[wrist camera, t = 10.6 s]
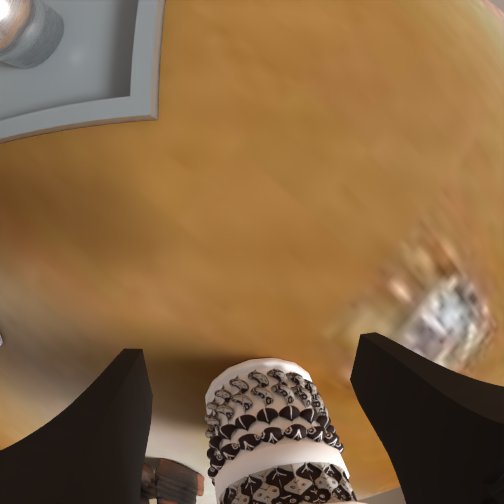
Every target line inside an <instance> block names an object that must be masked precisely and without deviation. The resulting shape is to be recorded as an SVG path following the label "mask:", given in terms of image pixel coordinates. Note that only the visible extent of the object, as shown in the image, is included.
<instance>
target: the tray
mask: <svg viewBox="0 0 504 504" xmlns="http://www.w3.org/2000/svg"><path fill="white" fill-rule="evenodd" d="M43 1H44V2H45V3H46V4H48V5H49V6H50V7H51V8H52V9H54V10H55V11H56V12H57V13H58V14H60V15H61V17H62V18H63V21H64V33H63V36H62V39H61V42H60V43H59V45H58V47H57V49H56V50H55V51H54V53H53V54H52V55H51V56H50V57H49V58H48V59H47V60H46V61H44V62H43V63H42V64H40V65H38V66H36V67H34V68H30V69H22V68H19V67H16V66H13V65H10V64H8V63H5V62H2V61H0V143H5V142H9V141H13V140H17V139H22V138H26V137H31V136H36V135H41V134H46V133H52V132H58V131H63V130H70V129H76V128H83V127H90V126H98V125H106V124H115V123H124V122H135V121H148V120H158V102H159V76H160V58H161V43H162V31H163V20H164V10H165V1H166V0H43Z"/></svg>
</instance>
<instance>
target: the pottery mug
mask: <svg viewBox="0 0 504 504" xmlns="http://www.w3.org/2000/svg"><path fill="white" fill-rule="evenodd" d="M203 492H204V477H203V476H202V475H200V474H198V473H196V472H194V471H192V470H190V469H189V468H186V467H184V466H182V465H179V464H177V463H174V462H172V461H169V460H166V459H163V458H162V459H160V461H159V465H158V467H157V469H156V471H155V473H153V471H152V470H151V468H150V467H149V466H148V465H147V464H145V463H144V465H143V471H142V478H141V490H140V504H149V499H154V498H156V499H157V504H195V503H196V495H198V496H202V495H203Z"/></svg>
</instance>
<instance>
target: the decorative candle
mask: <svg viewBox="0 0 504 504" xmlns="http://www.w3.org/2000/svg"><path fill="white" fill-rule="evenodd" d="M205 402H206V410H207V414H208V415H206V416H205V421H207V424H208V425H210V426H212V427H209V428H208V430H207V431H206V432H205V436H206V437H207V438H210V441H209V447H210V449H208V451H207V457H208V458H209V459H210V465H211V467H210V468H209V469H208V476H209V477H210V478H211V479H212V483H213V485H214V486H215V491H216V499H217V504H367V503H361V502H358V501H357V499H356V497H355V494H354V492H353V490H352V487H351V485H350V483H349V481H348V478H349V474H348V471H347V469H346V466H345V464H344V462H343V459H342V457H341V453H342V452H343V449H344V447H343V445H342V443H340V442H338V441H339V436H338V435H337V434H335V432H336V430H335V428H334V427H333V426H332V425H330V423H331V419H330V418H329V417H328V411H327V409H326V407H325V406H324V405H323V401H322V399H321V396H320V394H319V393H318V392H317V391H316V386H315V385H314V383H312V380H311V378H310V375H309V373H308V372H307V371H305V370H304V369H303V368H301V367H300V366H299V365H297V364H296V363H295V362H291V361H286V360H282V359H278V358H262V359H250V360H247V361H245V362H242V363H240V364H237V365H234V366H232V367H229V368H227V369H226V370H225V371H224V372H223V373H221V374H220V375H219V376H218V377H217V378H215V379H214V380H213V381H212V383H211V385H210V387H209V389H208V391H207V393H206V395H205ZM215 435H216V436H215ZM216 451H217V453H216ZM218 470H219V472H218Z"/></svg>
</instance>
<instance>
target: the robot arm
mask: <svg viewBox="0 0 504 504" xmlns="http://www.w3.org/2000/svg"><path fill="white" fill-rule="evenodd" d="M2 344H3V341H2V338H1V335H0V346H1V345H2ZM350 381H351V383H352V386H353V389H354V391H355V394H356V396H357V399H358V401H359V403H360V405H361V407H362V409H363V411H364V412H365V414H366V416H367V418H368V419H369V421H370V423H371V425H372V426H373V428H374V430H375V431H376V433H377V435H378V437H379V438H380V440H381V442H382V444H383V445H384V447H385V449H386V451H387V453H388V455H389V457H390V459H391V462H392V464H393V467H394V469H395V472H396V474H397V477H398V480H399V483H400V485H401V488H402V491H403V494H404V497H405V501H406V504H504V387H503V386H498V385H494V384H490V383H486V382H482V381H479V380H476V379H473V378H470V377H467V376H464V375H462V374H459V373H456V372H454V371H452V370H449V369H447V368H445V367H443V366H441V365H438V364H436V363H434V362H432V361H430V360H428V359H426V358H424V357H422V356H420V355H419V354H417V353H415V352H413V351H411V350H409V349H407V348H406V347H404V346H402V345H400V344H398V343H396V342H395V341H393V340H391V339H389V338H387V337H385V336H383V335H381V334H378V333H376V332H374V333H367V334H360V339H359V343H358V348H357V352H356V357H355V361H354V365H353V370H352V374H351V378H350ZM152 396H153V395H152V391H151V387H150V383H149V378H148V374H147V369H146V365H145V360H144V355H143V350H142V349H123V351H122V352H121V353H120V354H119V355H118V356H117V357H116V358H115V359H114V360H113V361H112V362H111V364H110V365H109V366H108V367H107V368H106V369H105V370H104V371H103V372H102V373H101V375H100V376H99V377H98V378H97V379H96V380H95V381H94V382H93V383H92V384H91V385H90V386H89V387H88V388H87V389H86V390H85V391H84V392H83V393H82V394H81V395H80V396H79V397H78V398H77V399H76V400H75V401H74V402H73V403H72V404H71V405H69V406H68V407H67V408H66V409H65V410H64V411H62V412H61V413H60V414H59V415H57V416H56V417H55V418H53V419H52V420H51V421H50V422H48V423H47V424H45V425H44V426H43V427H41V428H39V429H38V430H36V431H35V432H33V433H32V434H30V435H28V436H27V437H25V438H24V439H22V440H20V441H18V442H17V443H15V444H13V445H11V446H9V447H7V448H5V449H3V450H0V504H140V490H141V478H142V471H143V465H144V459H145V453H146V447H147V442H148V436H149V430H150V424H151V414H152Z"/></svg>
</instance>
